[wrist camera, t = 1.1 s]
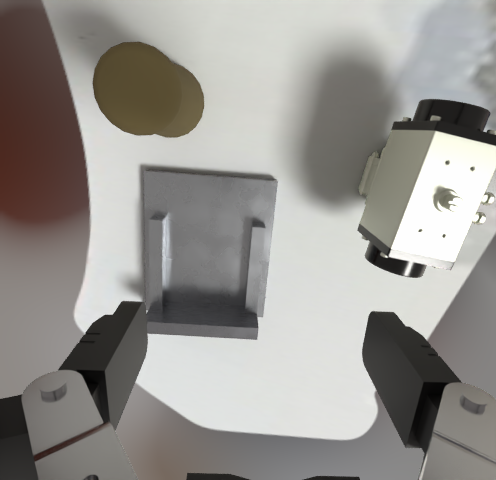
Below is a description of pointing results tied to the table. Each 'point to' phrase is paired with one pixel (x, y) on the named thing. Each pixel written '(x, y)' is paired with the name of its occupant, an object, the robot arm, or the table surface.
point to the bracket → (206, 253)
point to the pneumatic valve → (427, 187)
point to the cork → (146, 91)
